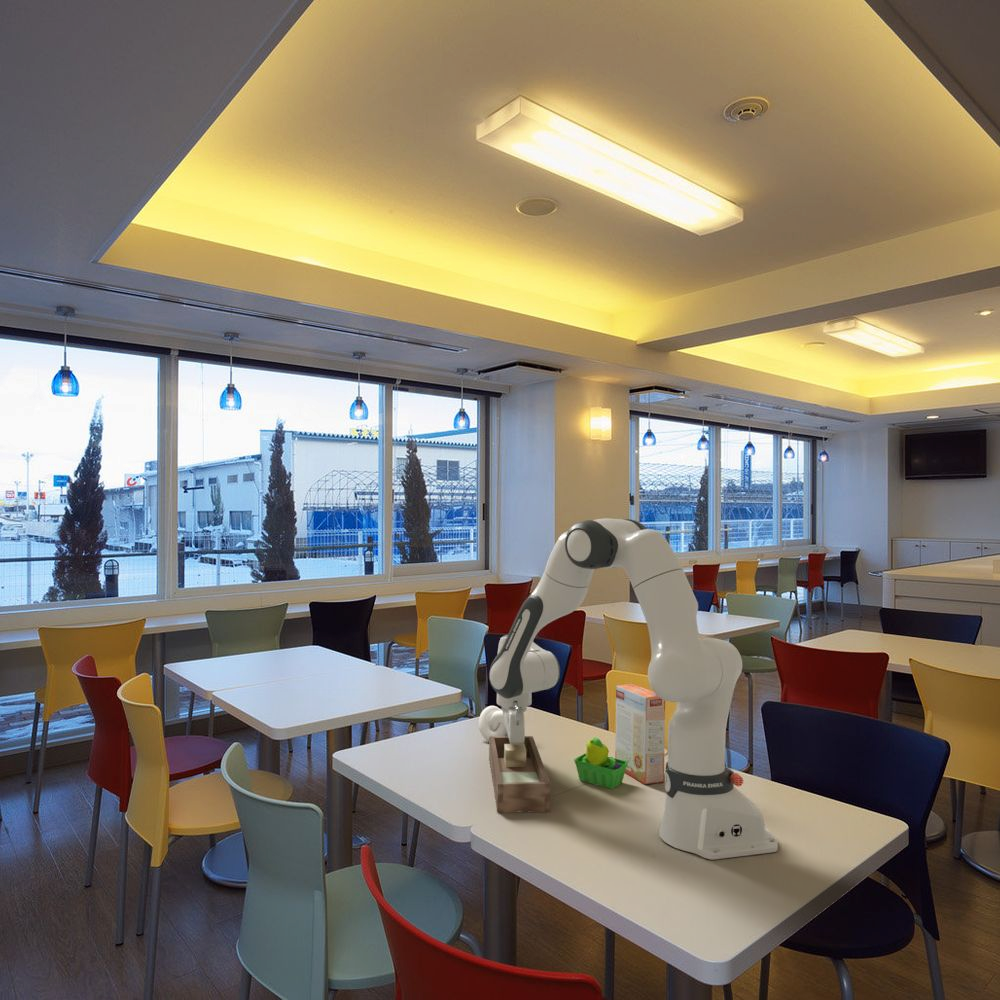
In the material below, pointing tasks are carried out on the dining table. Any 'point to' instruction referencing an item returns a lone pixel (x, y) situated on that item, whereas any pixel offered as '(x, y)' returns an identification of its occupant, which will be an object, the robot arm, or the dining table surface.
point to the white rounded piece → (492, 722)
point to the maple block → (515, 755)
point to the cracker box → (640, 732)
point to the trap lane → (519, 779)
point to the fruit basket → (600, 765)
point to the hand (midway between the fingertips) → (513, 751)
